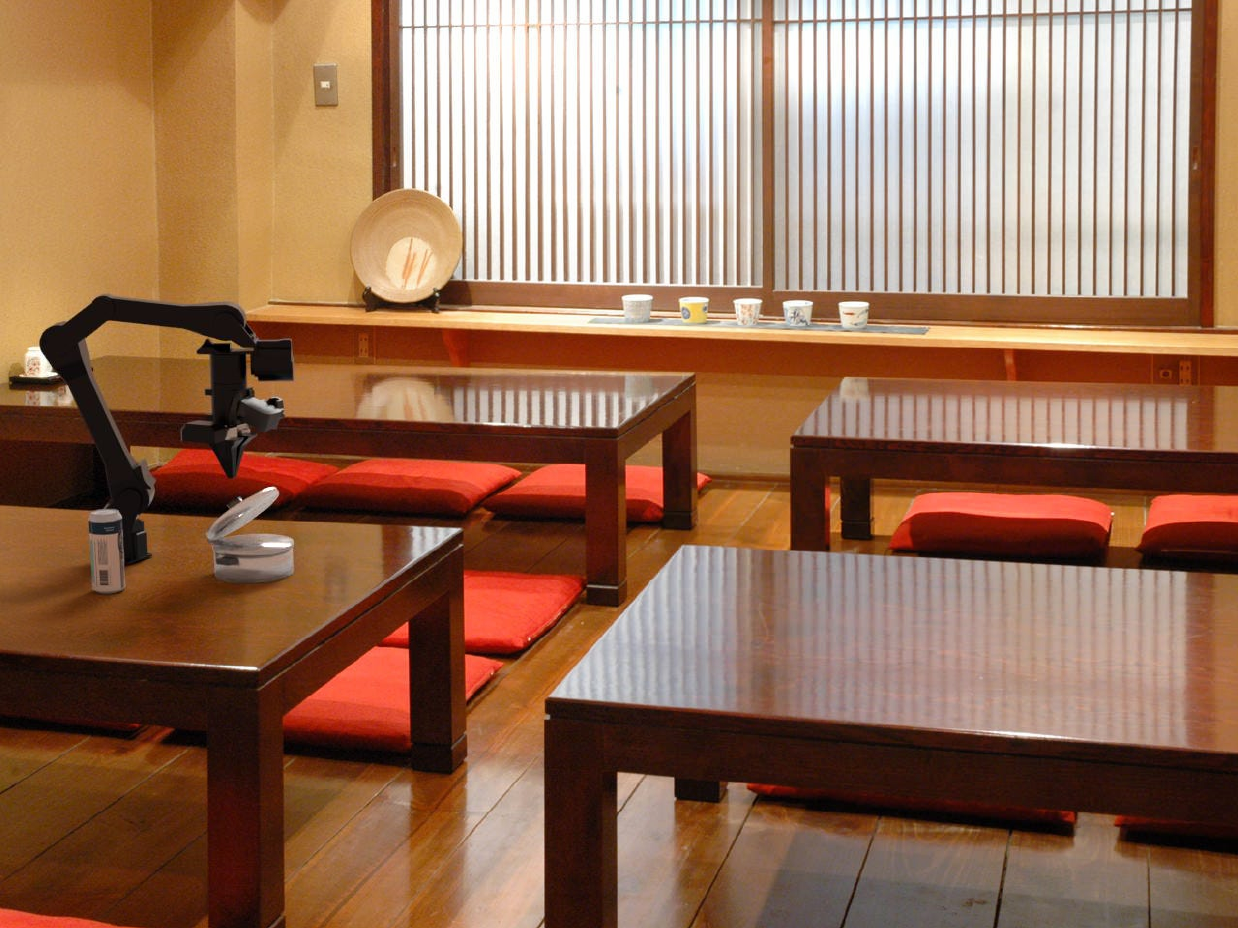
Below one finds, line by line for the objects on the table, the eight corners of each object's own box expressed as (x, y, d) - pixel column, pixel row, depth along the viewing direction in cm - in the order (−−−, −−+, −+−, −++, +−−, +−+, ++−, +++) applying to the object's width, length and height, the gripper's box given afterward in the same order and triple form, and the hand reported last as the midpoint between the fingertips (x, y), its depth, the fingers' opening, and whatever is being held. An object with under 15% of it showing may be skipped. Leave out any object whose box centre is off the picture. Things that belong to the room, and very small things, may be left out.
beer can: (132, 590, 237) (127, 511, 235) (103, 596, 233) (98, 516, 231) (114, 584, 240) (110, 506, 238) (85, 590, 236) (81, 511, 234)
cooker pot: (189, 581, 242) (188, 550, 241) (250, 557, 257) (249, 528, 256) (258, 589, 238) (257, 558, 237) (316, 565, 252) (315, 535, 251)
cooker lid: (189, 551, 243) (179, 536, 243) (238, 533, 255) (228, 519, 255) (246, 500, 238) (235, 485, 238) (293, 485, 249) (283, 470, 250)
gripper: (238, 392, 241) (241, 493, 244) (304, 377, 258) (306, 472, 261) (176, 388, 245) (180, 487, 248) (245, 373, 262) (247, 466, 265)
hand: (231, 478), depth 255 cm, fingers closed
